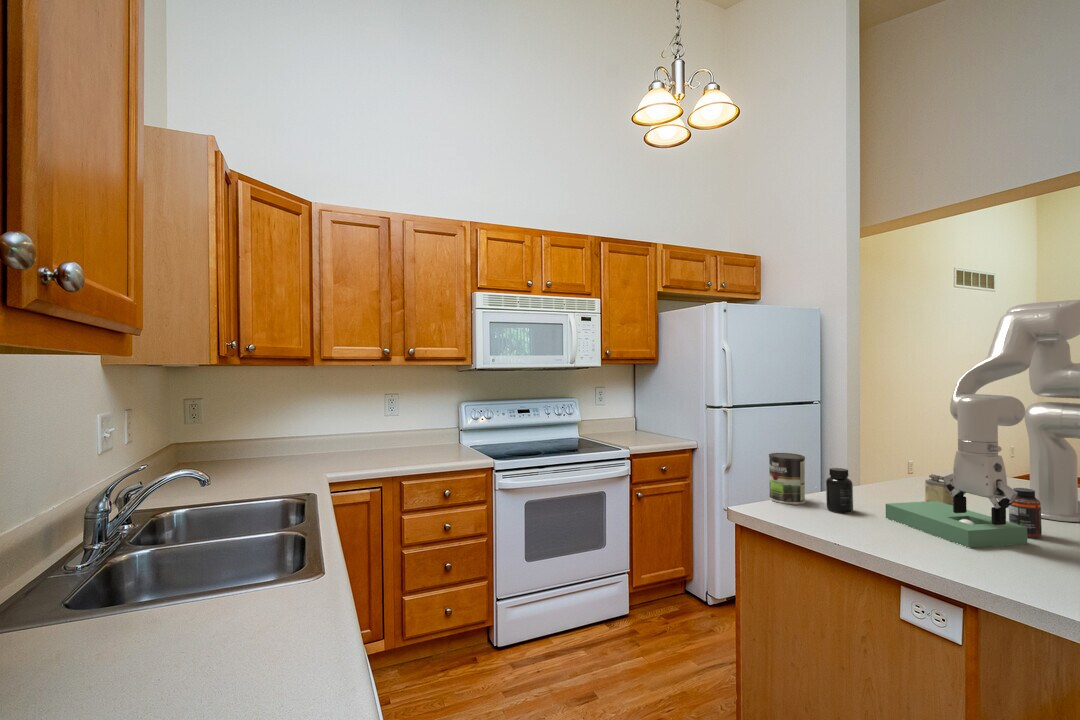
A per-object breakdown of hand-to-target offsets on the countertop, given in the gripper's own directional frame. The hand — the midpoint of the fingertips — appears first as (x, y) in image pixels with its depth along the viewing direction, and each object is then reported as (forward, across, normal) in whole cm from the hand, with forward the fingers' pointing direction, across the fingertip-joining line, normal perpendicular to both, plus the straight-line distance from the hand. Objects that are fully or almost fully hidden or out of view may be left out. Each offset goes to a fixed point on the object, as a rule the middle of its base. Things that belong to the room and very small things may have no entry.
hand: (978, 518), depth 127 cm
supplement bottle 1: (+5, +28, +15) cm, 33 cm away
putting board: (+5, +7, 0) cm, 9 cm away
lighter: (+5, +24, -14) cm, 29 cm away
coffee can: (+5, +41, +23) cm, 48 cm away
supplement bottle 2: (+5, +1, -15) cm, 16 cm away
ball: (+3, +2, +1) cm, 4 cm away
